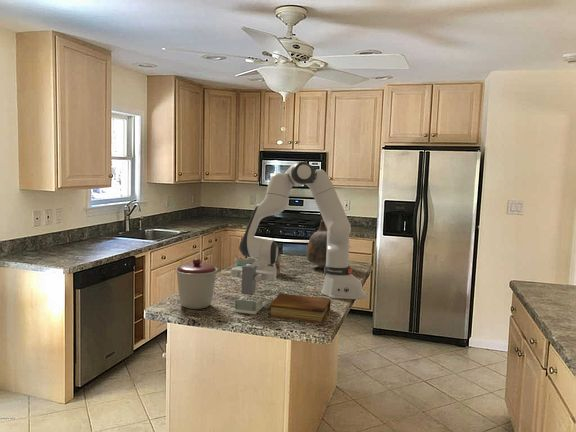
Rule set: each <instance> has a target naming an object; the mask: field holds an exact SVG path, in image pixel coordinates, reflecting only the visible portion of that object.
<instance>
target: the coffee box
mask: <svg viewBox="0 0 576 432" xmlns="http://www.w3.org/2000/svg"><path fill="white" fill-rule="evenodd" d="M278 247H279V255H278V259H277V261H276V262H275V266H276V268H277V274H276V275H280V274H281V261H282V259H281V258H282V246H280V245H278Z"/></svg>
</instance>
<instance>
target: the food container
mask: <svg viewBox="0 0 576 432" xmlns="http://www.w3.org/2000/svg"><path fill="white" fill-rule="evenodd" d="M234 262H235V264H236V265H235V267H238V266H241V267H243V266H244V265H246V264H252V263H254V262H256V258H251V259H250V258H248V257H246V258H245V257H244V258H240V257H238V256H236V257H235V259H234Z"/></svg>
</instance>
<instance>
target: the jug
mask: <svg viewBox="0 0 576 432" xmlns="http://www.w3.org/2000/svg"><path fill="white" fill-rule="evenodd" d="M307 243H308V244H307V245H306V246H307V248H306V259H307V261H308V262H309V263H311V264H314V265H316V266H318V267H319V268H321V269H323V270H325V265H326V252H327V228H326V225H325V223H324V220H323V219H321V220H320V222H319V228H318V230H317V231H315V232H313V234H312V235H311V236H310V238H309V240H308V242H307Z"/></svg>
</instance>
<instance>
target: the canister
mask: <svg viewBox="0 0 576 432" xmlns="http://www.w3.org/2000/svg"><path fill="white" fill-rule="evenodd" d="M217 271H219V269H218V268H217V267H216V266H214V265H212V264H210V263H204V262H202V260H201V259H200V258H194V259H193V260H192V263H191V262H189V263H184V264H181V265H179V266H177V267H176V268H175V272H176V276H177V277H176V279H177V288H178V296H179V303H180V304H181V306H182V307H183V308H187V309H189V310H190V309H191V310H201V309H205V308H208V307H209V306H210V305H211V303H212V301H213V297H214V291H215V284H216V275H217Z"/></svg>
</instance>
